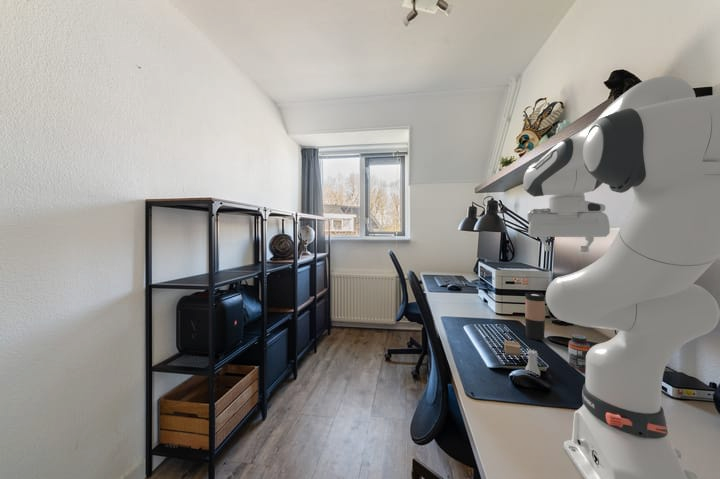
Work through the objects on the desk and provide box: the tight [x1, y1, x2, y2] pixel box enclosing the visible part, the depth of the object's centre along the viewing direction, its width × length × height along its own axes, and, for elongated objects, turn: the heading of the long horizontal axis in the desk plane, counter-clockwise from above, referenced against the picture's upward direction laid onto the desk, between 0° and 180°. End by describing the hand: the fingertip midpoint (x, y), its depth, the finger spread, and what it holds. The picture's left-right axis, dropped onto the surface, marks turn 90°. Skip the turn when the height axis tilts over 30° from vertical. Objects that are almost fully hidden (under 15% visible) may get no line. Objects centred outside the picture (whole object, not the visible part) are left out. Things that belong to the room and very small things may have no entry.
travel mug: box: [524, 291, 546, 341], centre depth 122 cm, size 8×8×20 cm
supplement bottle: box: [568, 333, 591, 372], centre depth 94 cm, size 6×6×11 cm
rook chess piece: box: [524, 349, 541, 377], centre depth 90 cm, size 4×4×8 cm
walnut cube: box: [503, 340, 522, 356], centre depth 102 cm, size 5×5×5 cm
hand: (565, 251), depth 83 cm, fingers open, 8 cm apart
